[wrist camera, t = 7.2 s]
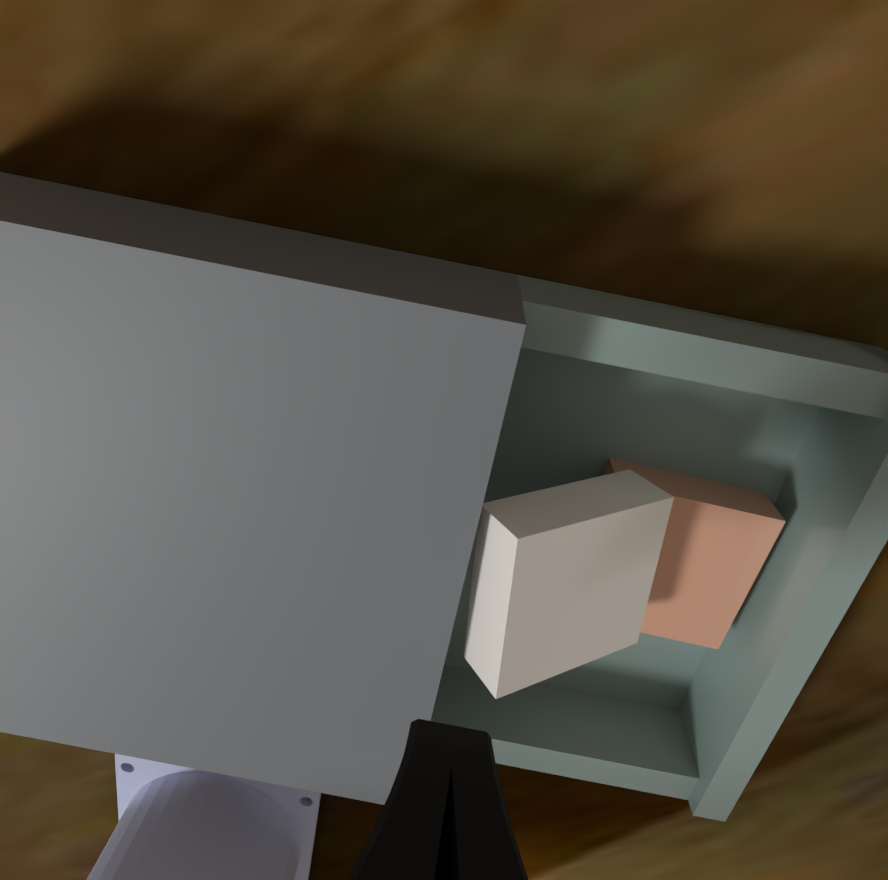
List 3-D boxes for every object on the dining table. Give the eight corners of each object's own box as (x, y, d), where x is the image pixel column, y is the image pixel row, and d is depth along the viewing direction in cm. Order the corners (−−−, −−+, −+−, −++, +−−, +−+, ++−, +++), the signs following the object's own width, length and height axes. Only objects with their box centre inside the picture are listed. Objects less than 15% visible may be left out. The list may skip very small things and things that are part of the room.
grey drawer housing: (426, 674, 22) (409, 809, 18) (30, 598, 22) (-89, 714, 18) (517, 274, 16) (526, 324, 12) (-23, 166, 16) (-224, 176, 12)
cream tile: (599, 608, 18) (637, 642, 17) (463, 656, 16) (495, 699, 15) (629, 469, 16) (674, 497, 15) (479, 504, 14) (518, 538, 13)
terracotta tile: (567, 615, 18) (562, 583, 20) (718, 649, 19) (702, 614, 20) (618, 483, 17) (609, 457, 18) (785, 521, 17) (763, 492, 18)
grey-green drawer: (692, 726, 22) (725, 821, 19) (426, 674, 22) (414, 762, 19) (879, 346, 16) (971, 395, 13) (517, 274, 16) (522, 306, 13)
